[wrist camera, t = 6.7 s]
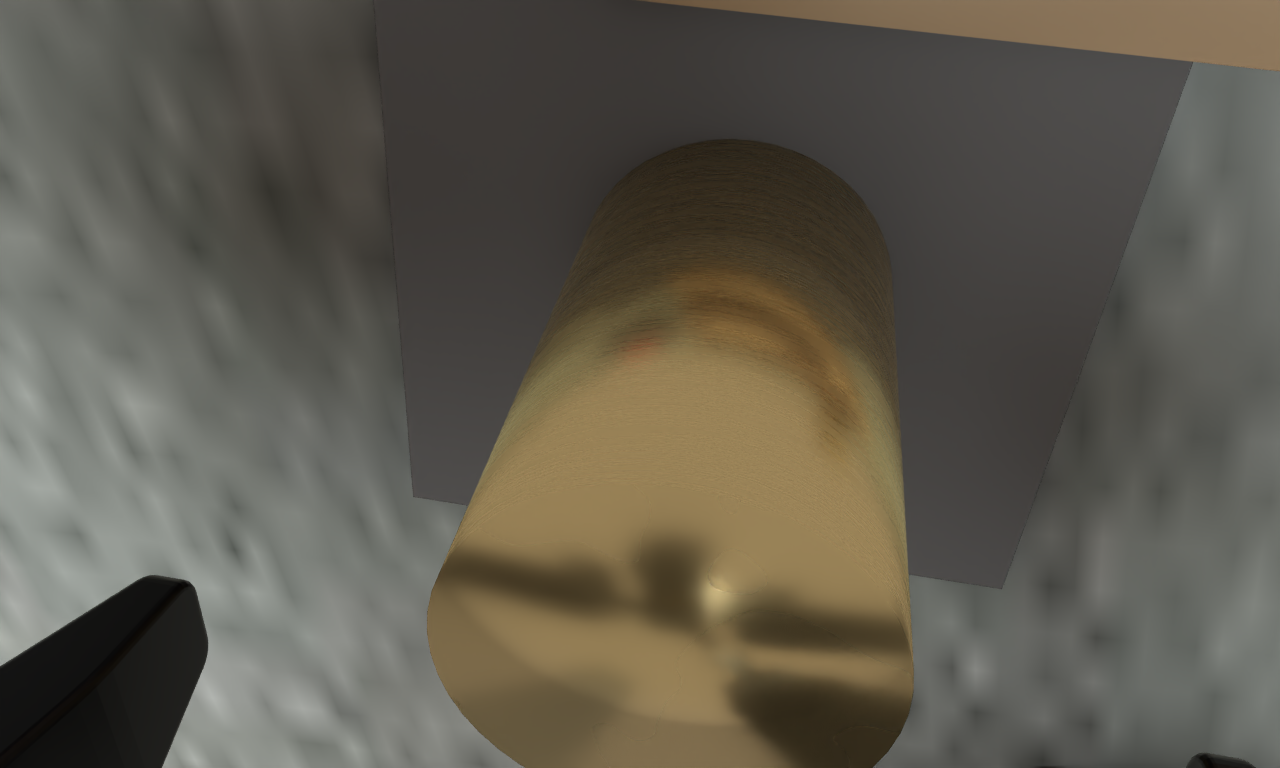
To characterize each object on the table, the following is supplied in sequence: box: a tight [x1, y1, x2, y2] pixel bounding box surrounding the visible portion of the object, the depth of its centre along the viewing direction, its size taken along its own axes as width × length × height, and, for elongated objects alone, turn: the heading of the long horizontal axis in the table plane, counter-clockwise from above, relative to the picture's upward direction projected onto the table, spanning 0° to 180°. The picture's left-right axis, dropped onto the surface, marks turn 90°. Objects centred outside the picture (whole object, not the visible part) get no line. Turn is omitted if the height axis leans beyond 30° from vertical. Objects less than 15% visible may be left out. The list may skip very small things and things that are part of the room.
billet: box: [427, 139, 914, 768], centre depth 13 cm, size 4×4×7 cm
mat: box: [373, 0, 1193, 589], centre depth 16 cm, size 10×10×1 cm
